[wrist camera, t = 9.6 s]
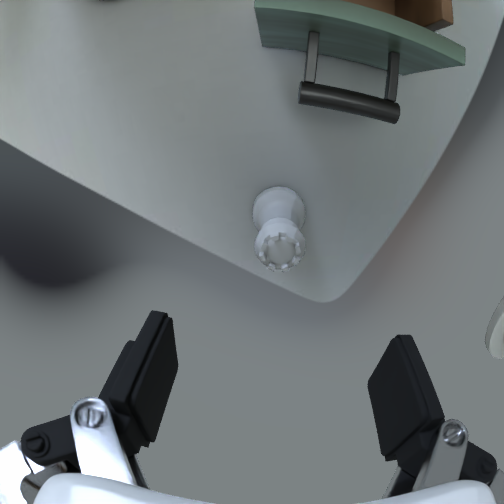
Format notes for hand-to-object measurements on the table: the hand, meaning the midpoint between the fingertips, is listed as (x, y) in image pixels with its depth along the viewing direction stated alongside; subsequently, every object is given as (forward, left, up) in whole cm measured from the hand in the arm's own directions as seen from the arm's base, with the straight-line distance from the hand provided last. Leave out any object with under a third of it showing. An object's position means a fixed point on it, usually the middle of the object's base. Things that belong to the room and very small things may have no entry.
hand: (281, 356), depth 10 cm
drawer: (-3, -18, -15) cm, 24 cm away
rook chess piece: (0, 0, -16) cm, 16 cm away
